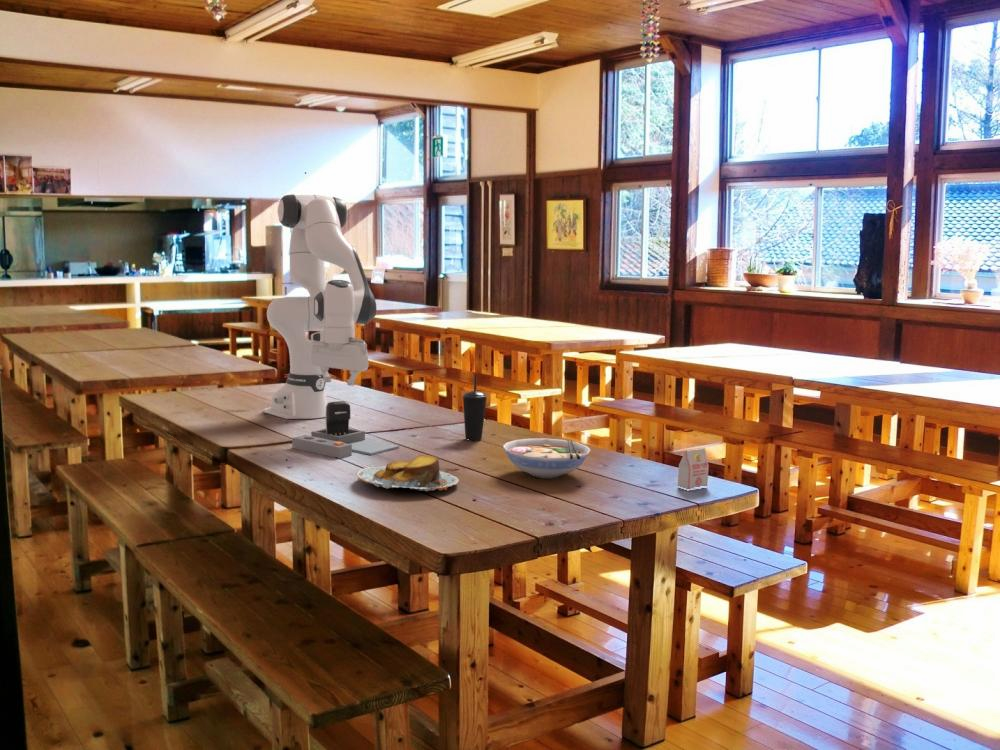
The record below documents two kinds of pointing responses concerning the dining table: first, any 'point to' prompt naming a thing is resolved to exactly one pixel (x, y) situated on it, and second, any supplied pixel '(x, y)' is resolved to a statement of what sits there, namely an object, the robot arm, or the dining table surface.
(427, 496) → the dining table surface
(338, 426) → the battery charger
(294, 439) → the charging station
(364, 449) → the slate mat
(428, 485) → the food on plate
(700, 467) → the white milk carton
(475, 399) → the drinking cup
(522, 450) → the ramen bowl
